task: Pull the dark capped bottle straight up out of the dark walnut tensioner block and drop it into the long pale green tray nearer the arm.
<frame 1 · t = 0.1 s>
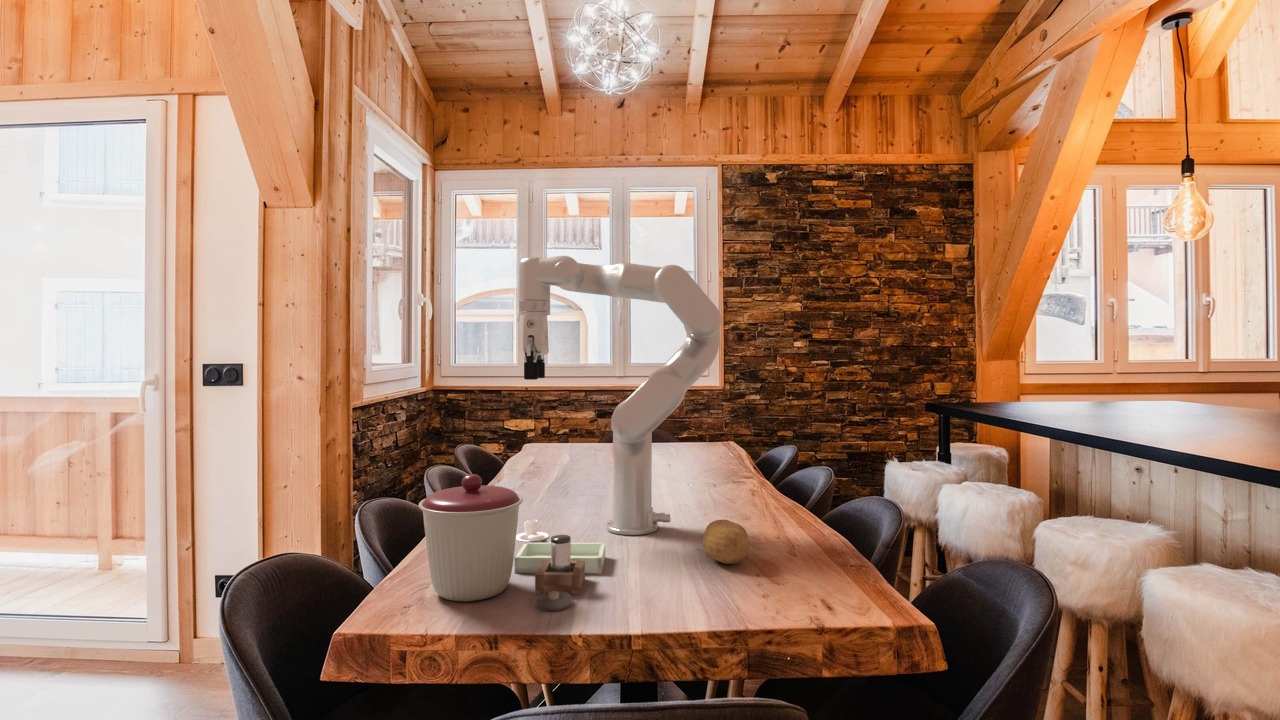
hand: (534, 378, 156), 37 cm above the table, tool pointing down, fingers open, 9 cm apart
dark capped bottle: (560, 562, 117), in the tensioner block
canister: (472, 592, 114), on the table
tensioner block: (560, 586, 117), on the table
potato: (725, 562, 131), on the table
tray: (561, 564, 129), on the table
teacup and saucer: (522, 542, 146), on the table
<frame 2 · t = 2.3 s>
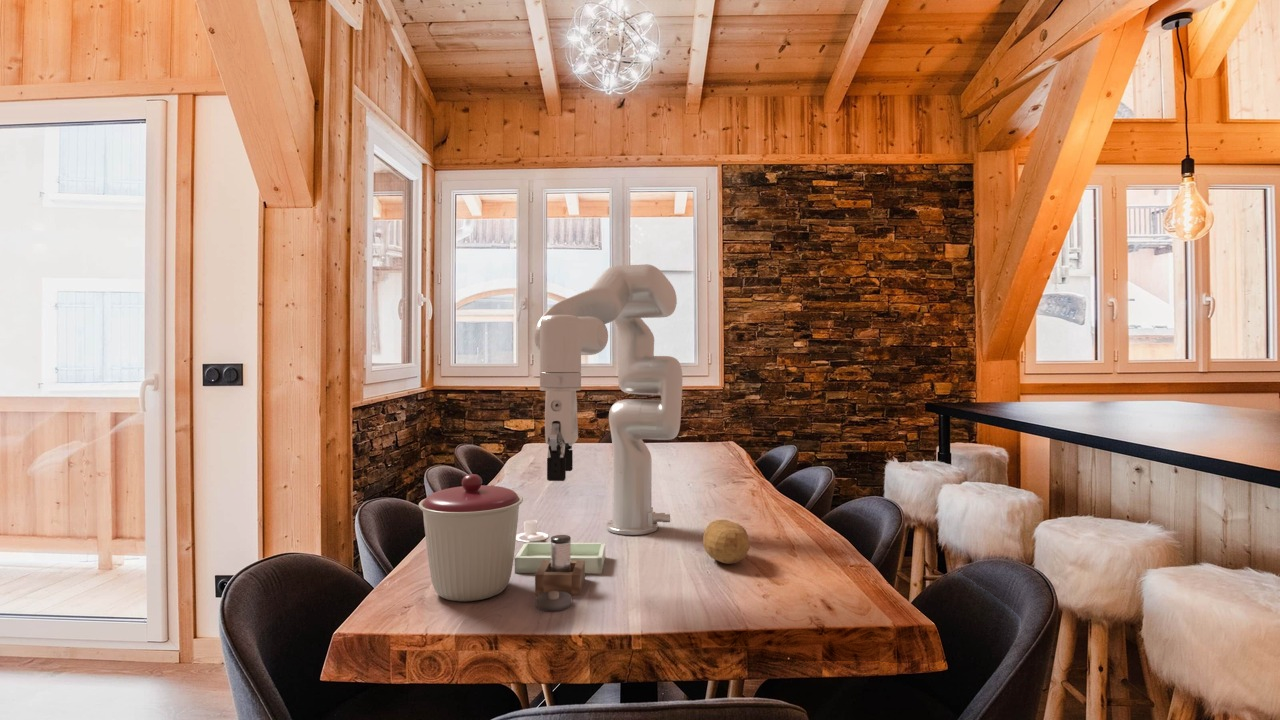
hand: (560, 475, 117), 20 cm above the table, tool pointing down, fingers open, 9 cm apart
nothing on the table moved.
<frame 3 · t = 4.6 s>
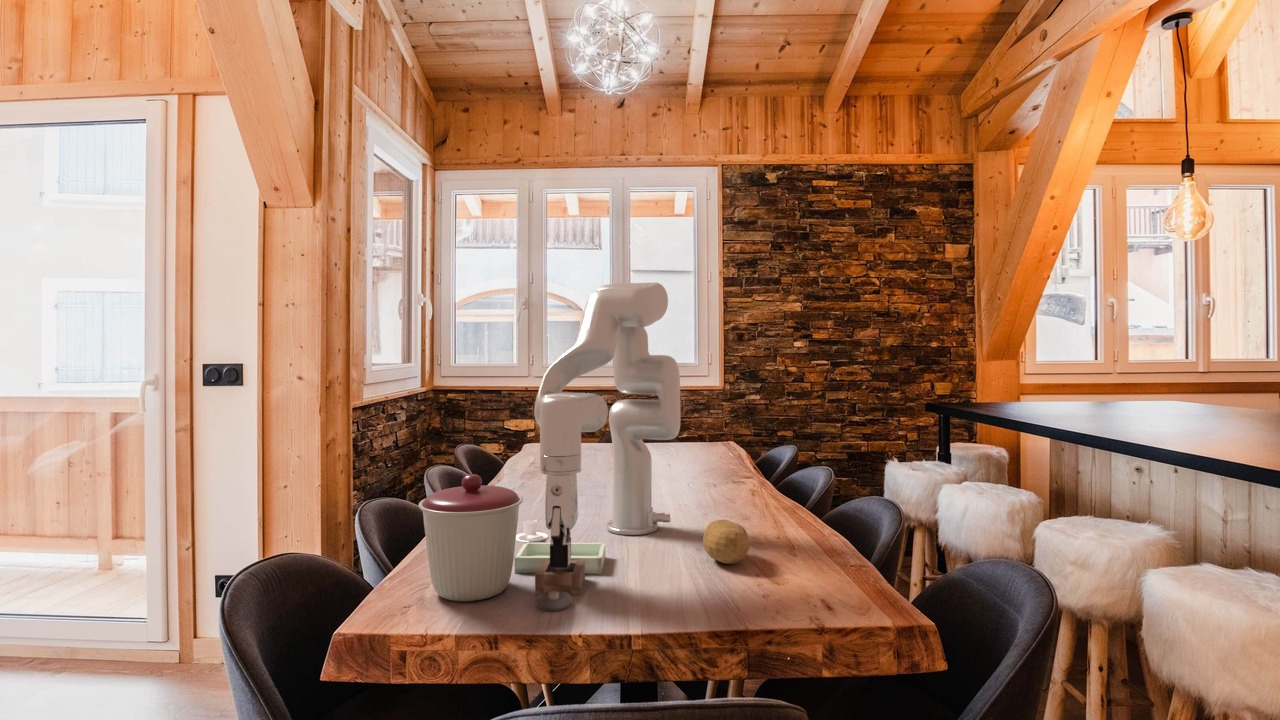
hand: (560, 562, 117), 4 cm above the table, tool pointing down, fingers closed on dark capped bottle, 3 cm apart
dark capped bottle: (560, 562, 117), in the tensioner block, touching gripper
everything else where it was.
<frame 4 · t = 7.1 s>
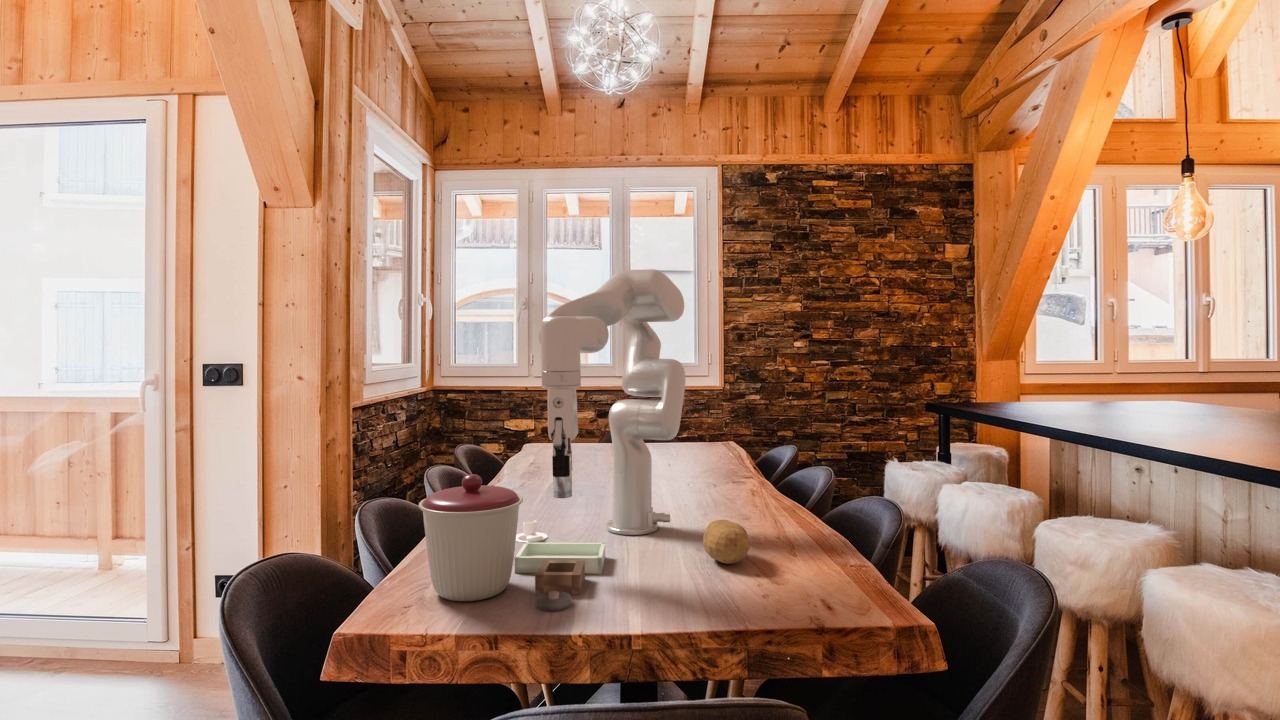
hand: (562, 473, 124), 20 cm above the table, tool pointing down, fingers closed on dark capped bottle, 3 cm apart
dark capped bottle: (562, 473, 124), point 20 cm above the table, touching gripper
everything else where it was.
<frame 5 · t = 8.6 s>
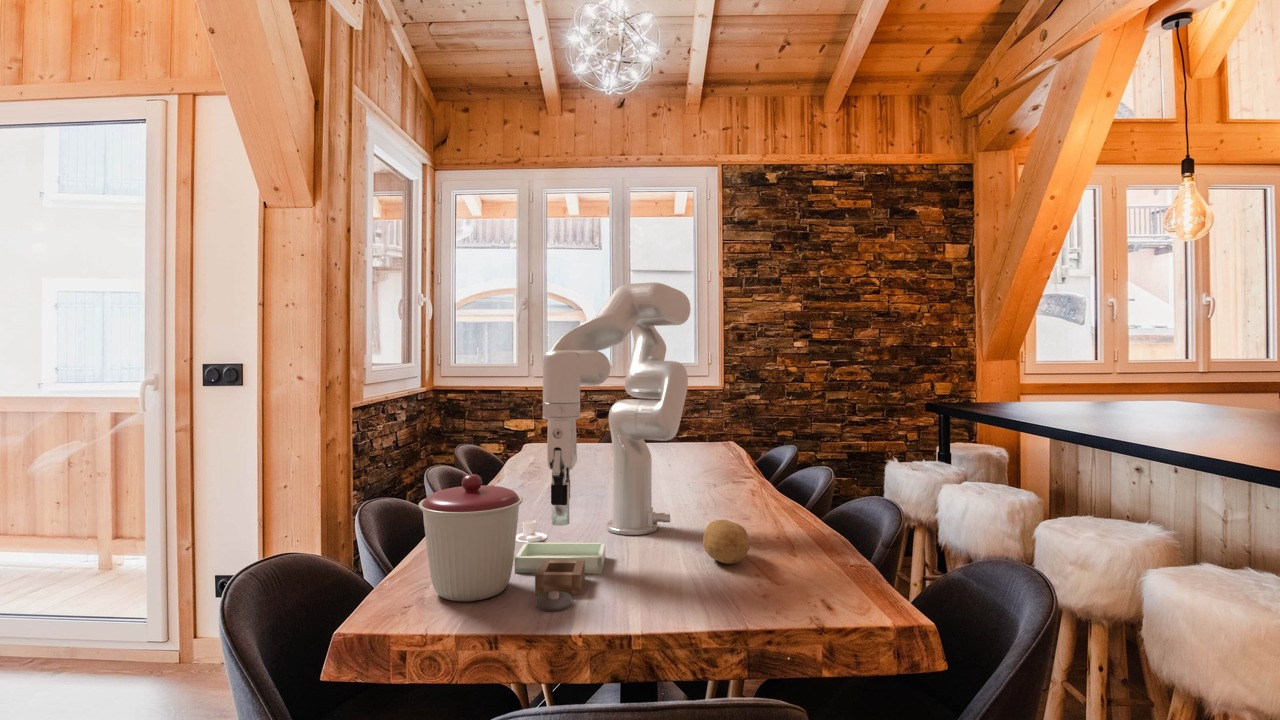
hand: (560, 501, 128), 13 cm above the table, tool pointing down, fingers closed on dark capped bottle, 3 cm apart
dark capped bottle: (560, 501, 128), point 13 cm above the table, touching gripper
everything else where it was.
when the fingers open (7 cm above the table, at t = 9.7 s): dark capped bottle drops 2 cm, resting on tray.
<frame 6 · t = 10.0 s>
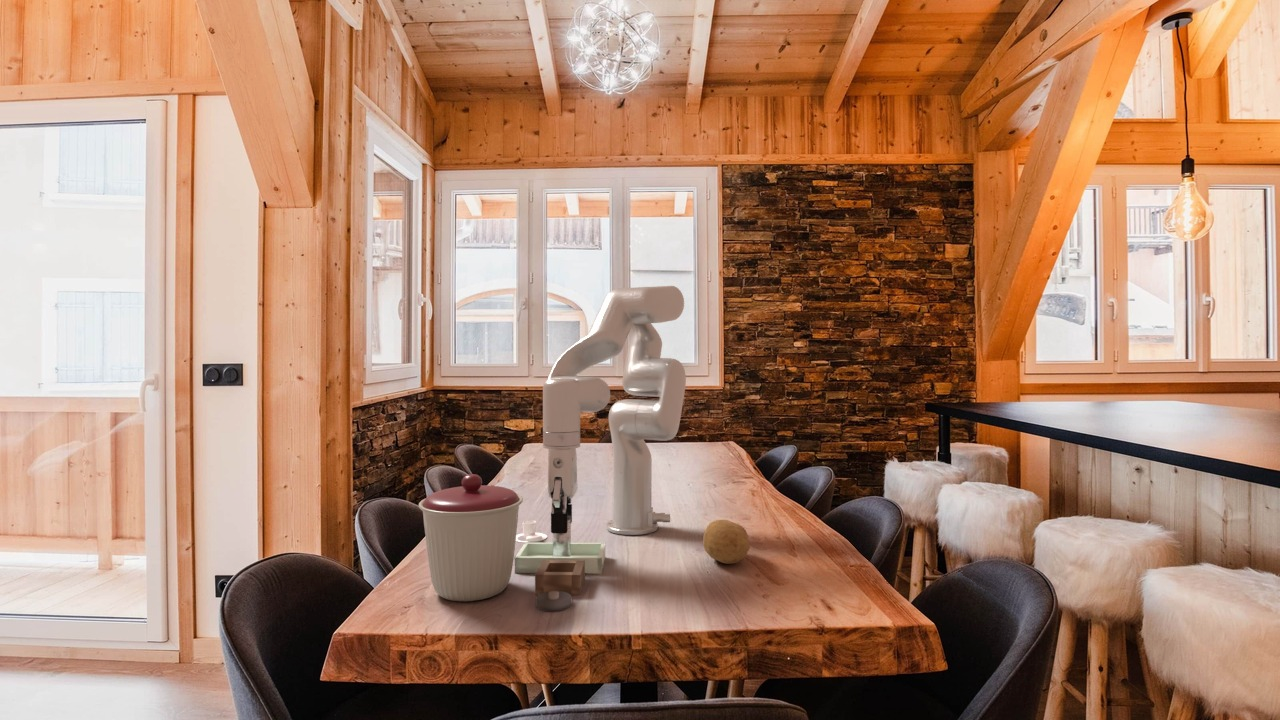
hand: (561, 527, 129), 8 cm above the table, tool pointing down, fingers open, 6 cm apart
dark capped bottle: (561, 538, 129), in the tray, point 5 cm above the table
everything else where it was.
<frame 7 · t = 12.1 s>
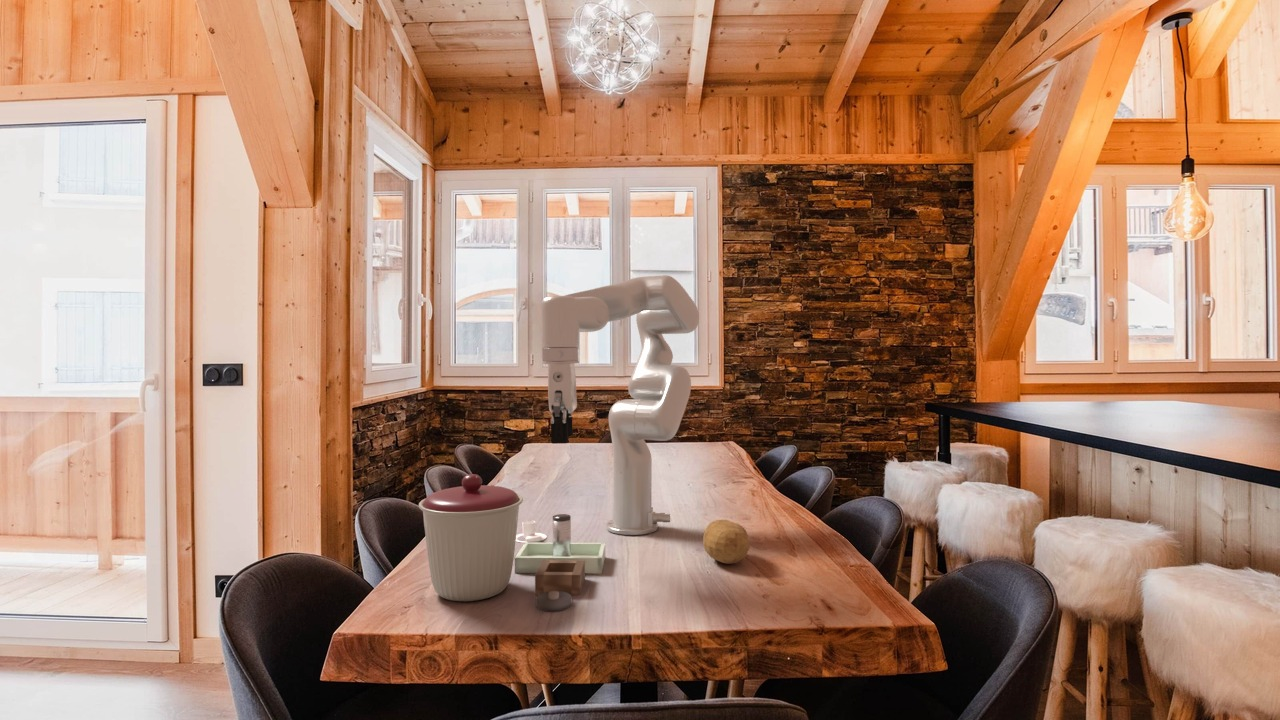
hand: (562, 439, 131), 25 cm above the table, tool pointing down, fingers open, 9 cm apart
nothing on the table moved.
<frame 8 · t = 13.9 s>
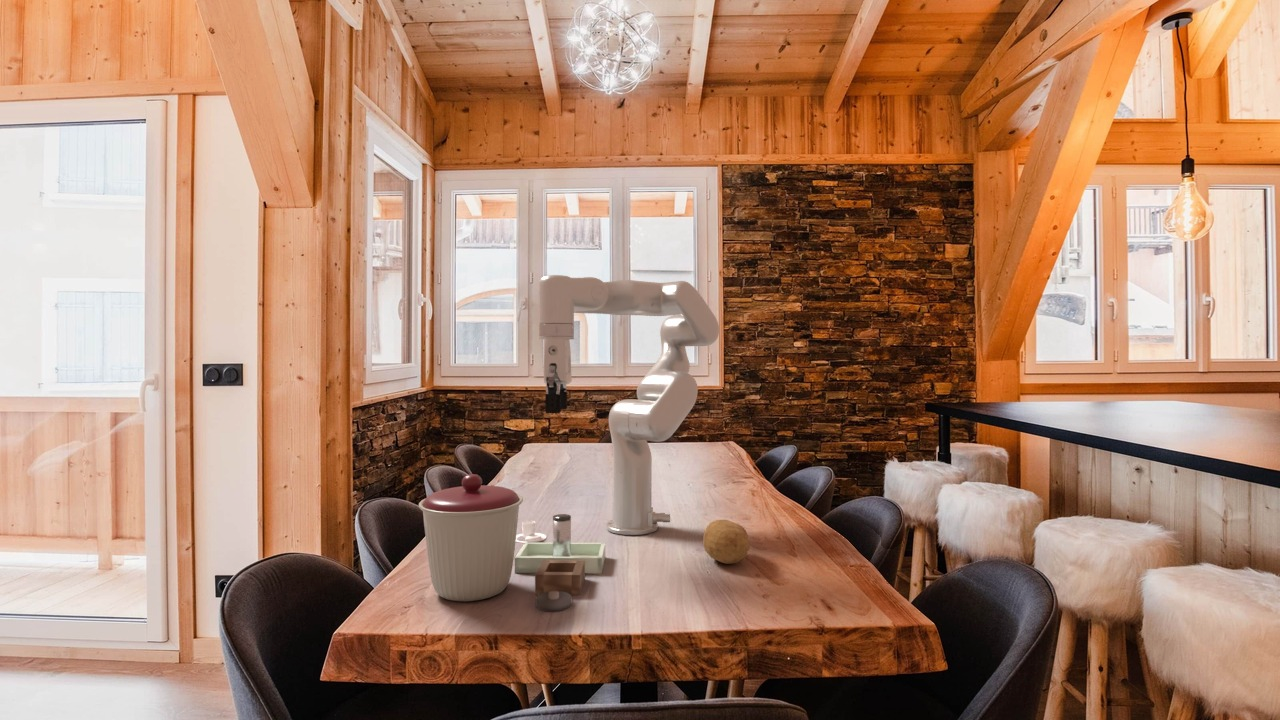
hand: (556, 411, 139), 30 cm above the table, tool pointing down, fingers open, 9 cm apart
nothing on the table moved.
at the end: dark capped bottle inside the target area on the tray (0.1 cm from its centre), point 5.3 cm above the tray's base; the gripper is holding nothing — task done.
